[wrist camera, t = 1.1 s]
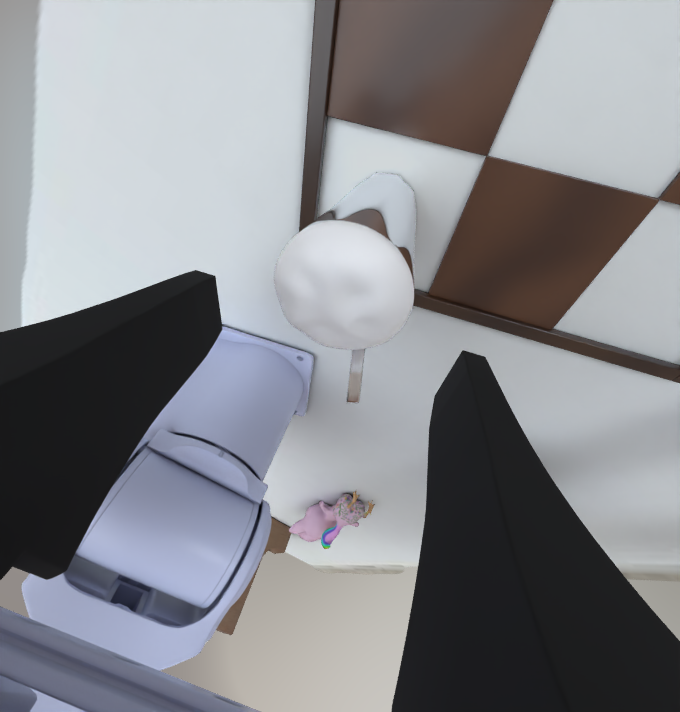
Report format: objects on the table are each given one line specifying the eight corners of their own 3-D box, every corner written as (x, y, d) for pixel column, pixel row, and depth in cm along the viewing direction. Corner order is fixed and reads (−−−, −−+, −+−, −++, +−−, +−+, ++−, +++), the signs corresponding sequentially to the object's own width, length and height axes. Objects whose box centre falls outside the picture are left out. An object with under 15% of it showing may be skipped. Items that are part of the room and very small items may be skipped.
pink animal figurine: (346, 472, 39) (280, 511, 47) (338, 521, 34) (266, 555, 42) (384, 496, 40) (314, 530, 48) (382, 547, 36) (304, 574, 44)
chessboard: (299, 267, 20) (295, 271, 19) (337, -247, 9) (332, -259, 8) (682, 379, 18) (686, 385, 18) (1339, -82, 7) (1385, -89, 7)
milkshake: (355, 270, 19) (293, 402, 12) (328, 169, 16) (220, 268, 9) (436, 258, 17) (420, 404, 10) (424, 142, 14) (389, 239, 7)
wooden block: (252, 513, 55) (202, 624, 44) (261, 510, 52) (211, 626, 42) (283, 530, 57) (243, 641, 46) (293, 528, 54) (253, 644, 44)
